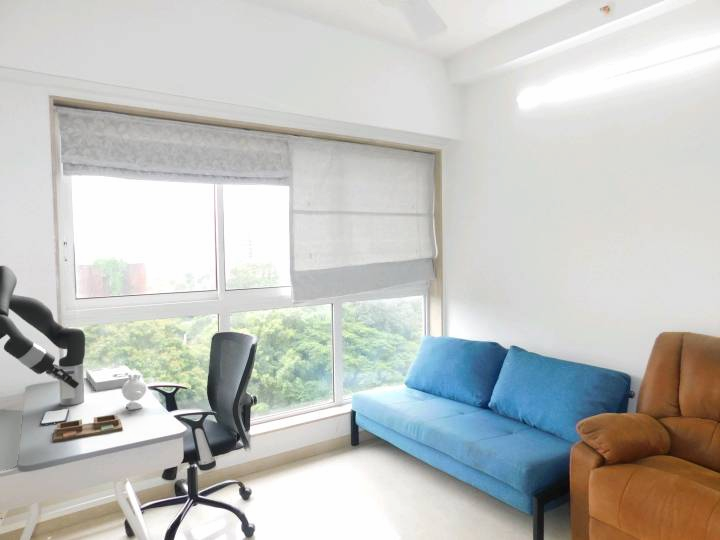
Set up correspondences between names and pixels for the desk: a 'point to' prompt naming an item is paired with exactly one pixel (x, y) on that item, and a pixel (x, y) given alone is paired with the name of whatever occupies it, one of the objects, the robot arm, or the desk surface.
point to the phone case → (55, 416)
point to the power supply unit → (108, 377)
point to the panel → (87, 428)
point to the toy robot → (134, 391)
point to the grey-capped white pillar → (68, 386)
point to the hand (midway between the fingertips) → (73, 384)
